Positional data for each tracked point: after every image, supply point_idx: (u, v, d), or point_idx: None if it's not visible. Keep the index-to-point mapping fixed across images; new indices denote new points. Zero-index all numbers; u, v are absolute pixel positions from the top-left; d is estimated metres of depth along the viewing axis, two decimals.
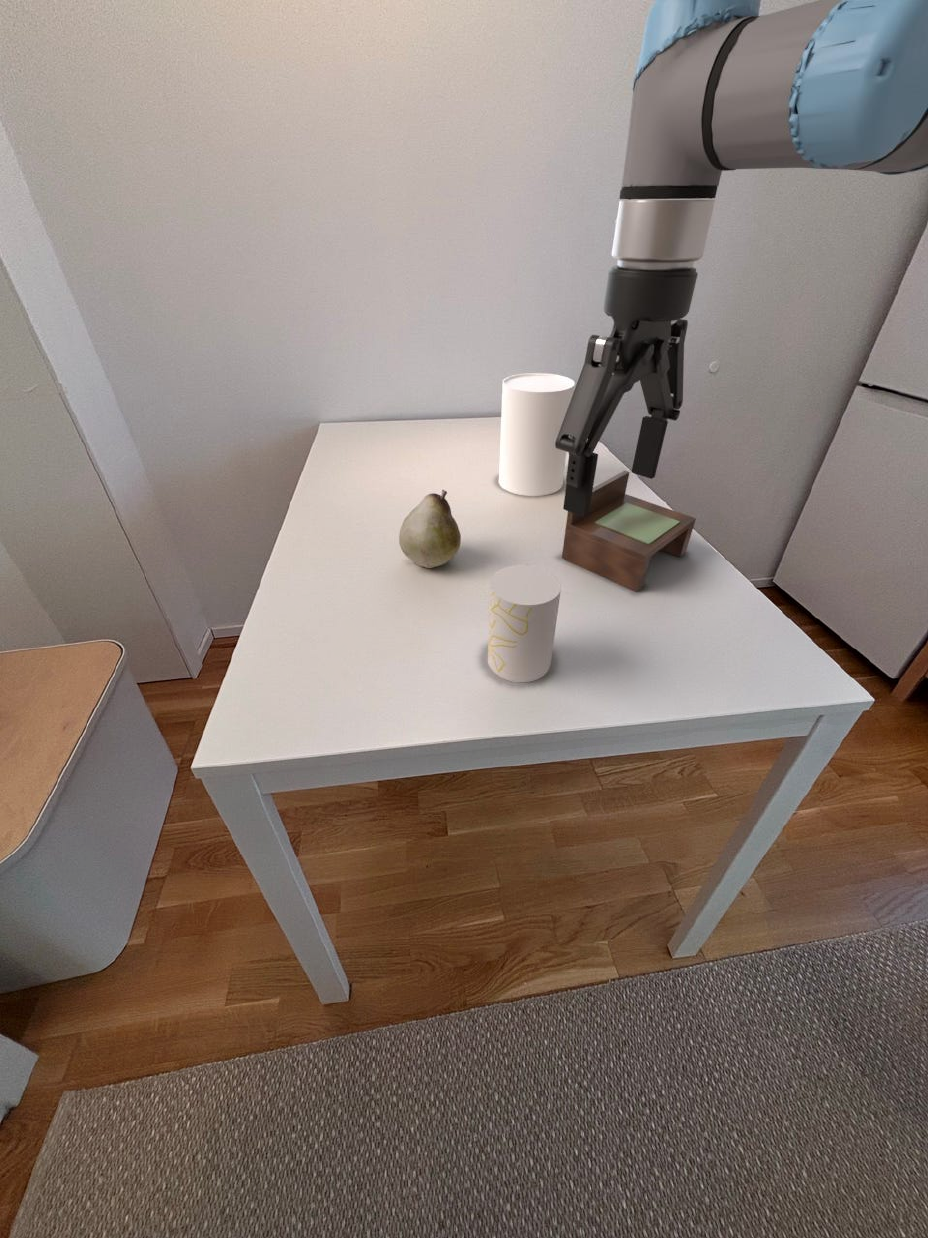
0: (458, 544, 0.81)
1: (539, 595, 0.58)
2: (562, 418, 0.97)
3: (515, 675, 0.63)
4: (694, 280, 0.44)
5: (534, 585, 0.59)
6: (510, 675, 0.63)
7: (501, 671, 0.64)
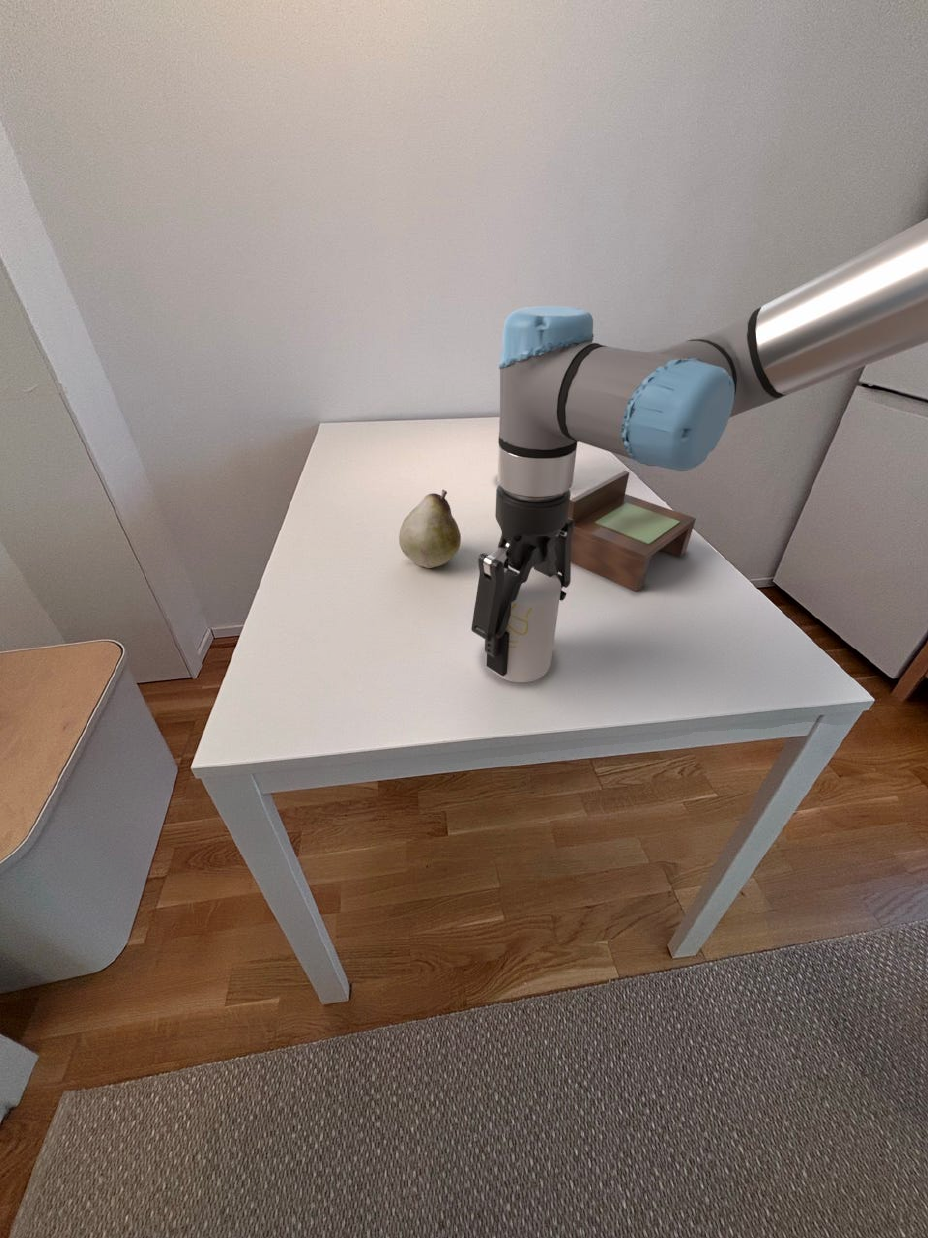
0: (458, 544, 0.81)
1: (539, 595, 0.58)
2: None
3: (515, 675, 0.63)
4: (566, 504, 0.51)
5: (534, 585, 0.59)
6: (510, 675, 0.63)
7: None
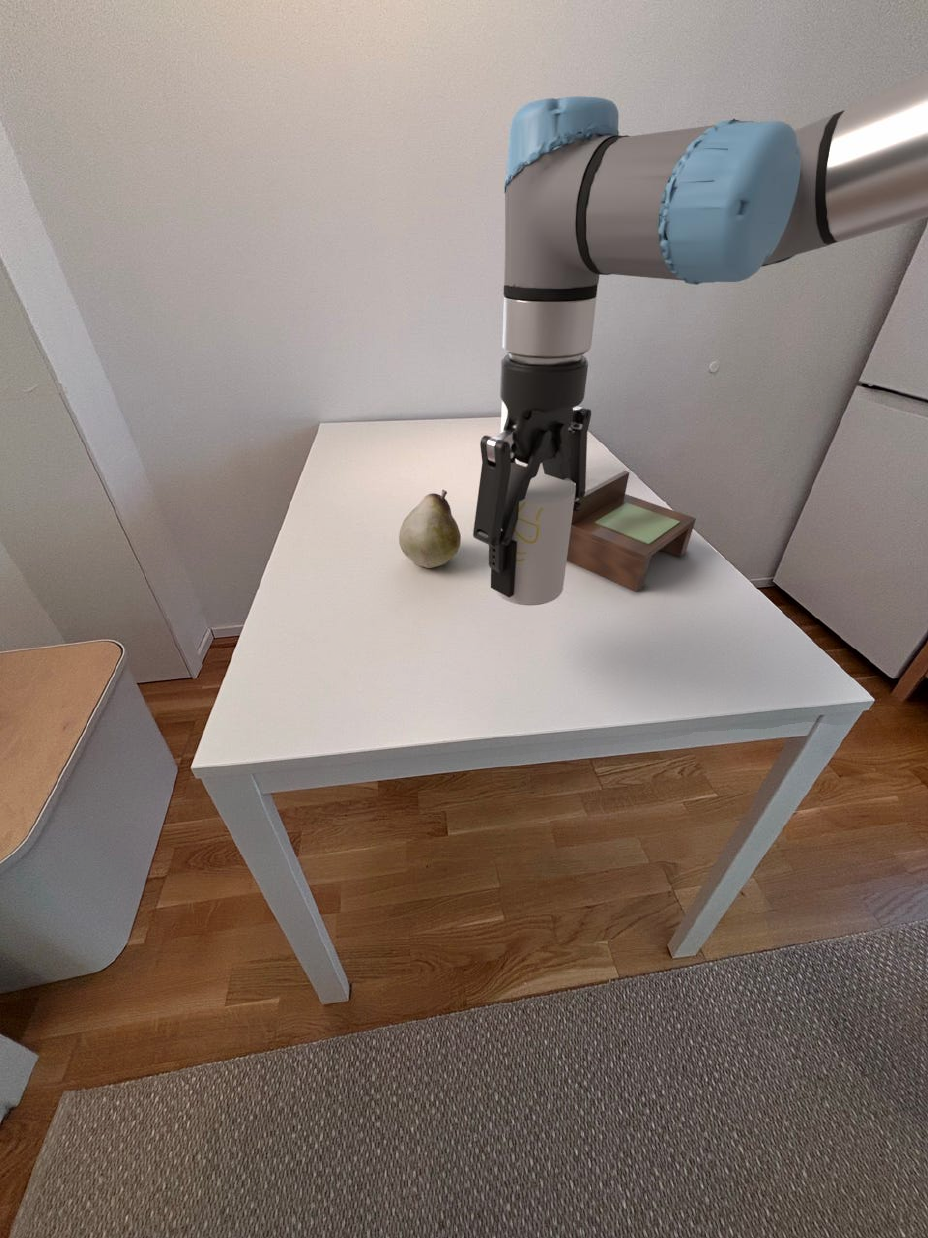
0: (458, 544, 0.81)
1: (550, 495, 0.50)
2: None
3: (523, 596, 0.56)
4: (583, 372, 0.43)
5: (545, 487, 0.52)
6: (517, 597, 0.56)
7: None
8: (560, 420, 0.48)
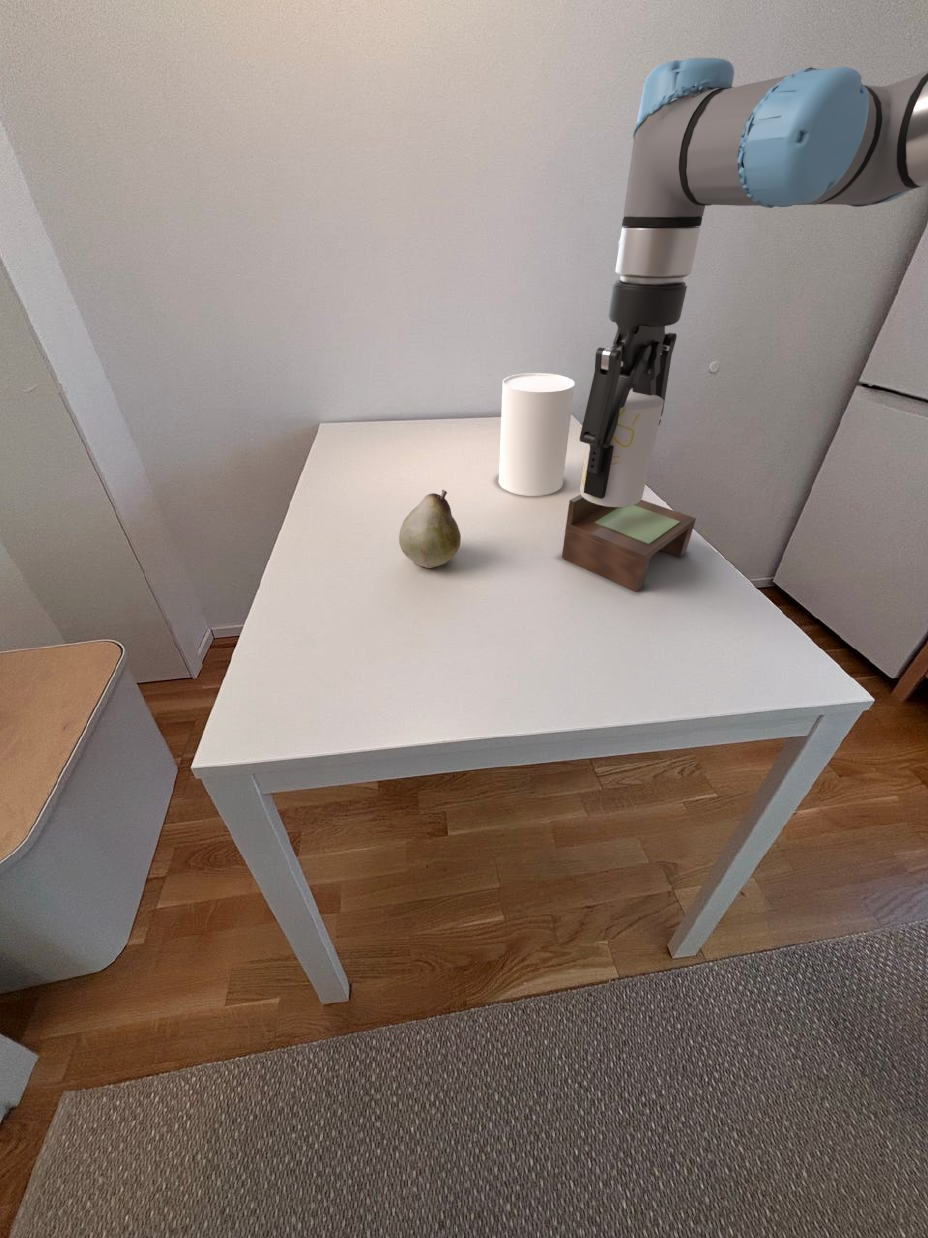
0: (458, 544, 0.81)
1: (644, 404, 0.60)
2: (562, 418, 0.97)
3: (612, 498, 0.65)
4: (684, 292, 0.53)
5: (637, 399, 0.61)
6: (607, 499, 0.65)
7: None
8: (655, 339, 0.58)
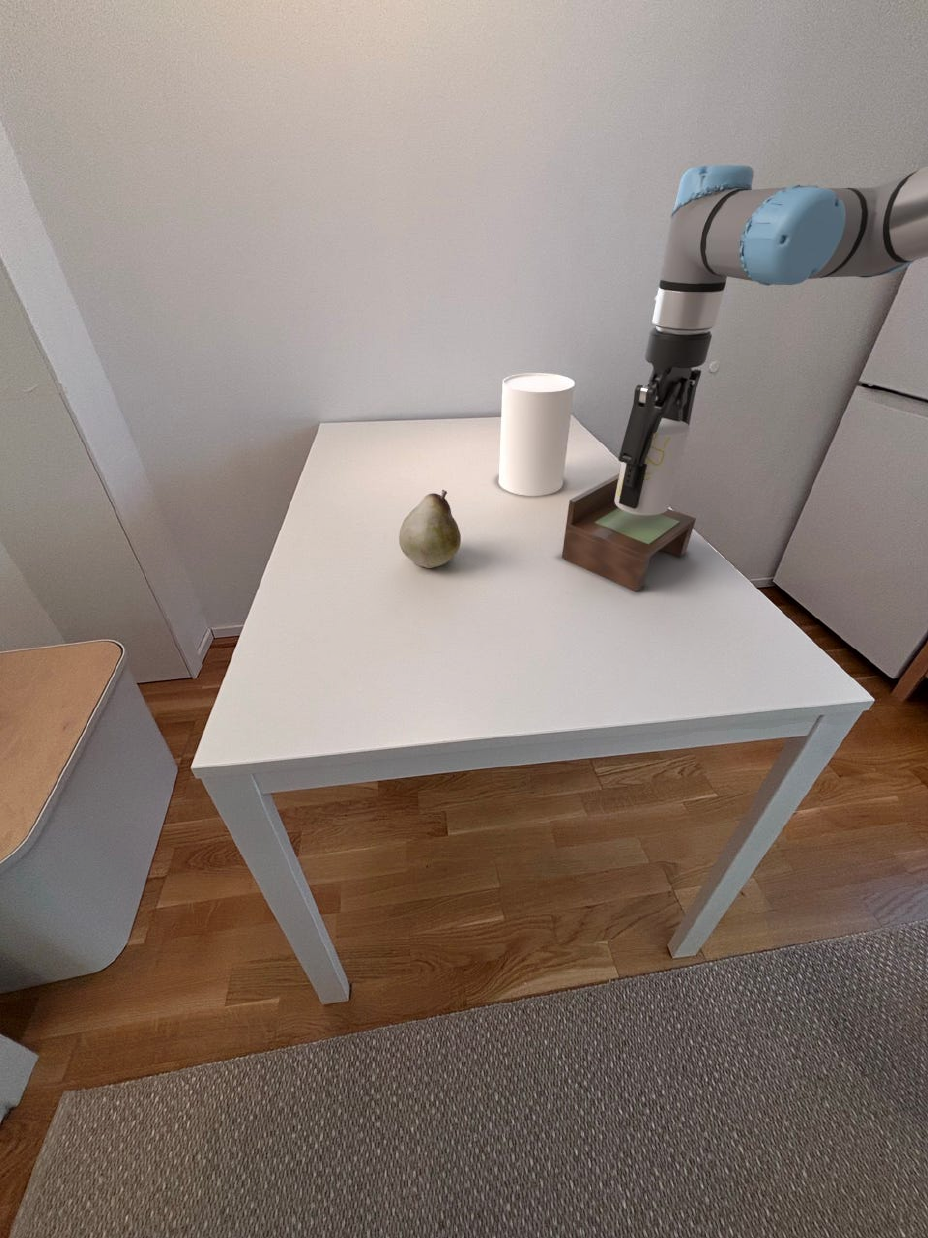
0: (458, 544, 0.81)
1: (673, 430, 0.71)
2: (562, 418, 0.97)
3: (644, 508, 0.76)
4: (709, 340, 0.64)
5: (667, 425, 0.72)
6: (639, 508, 0.77)
7: None
8: (684, 376, 0.69)
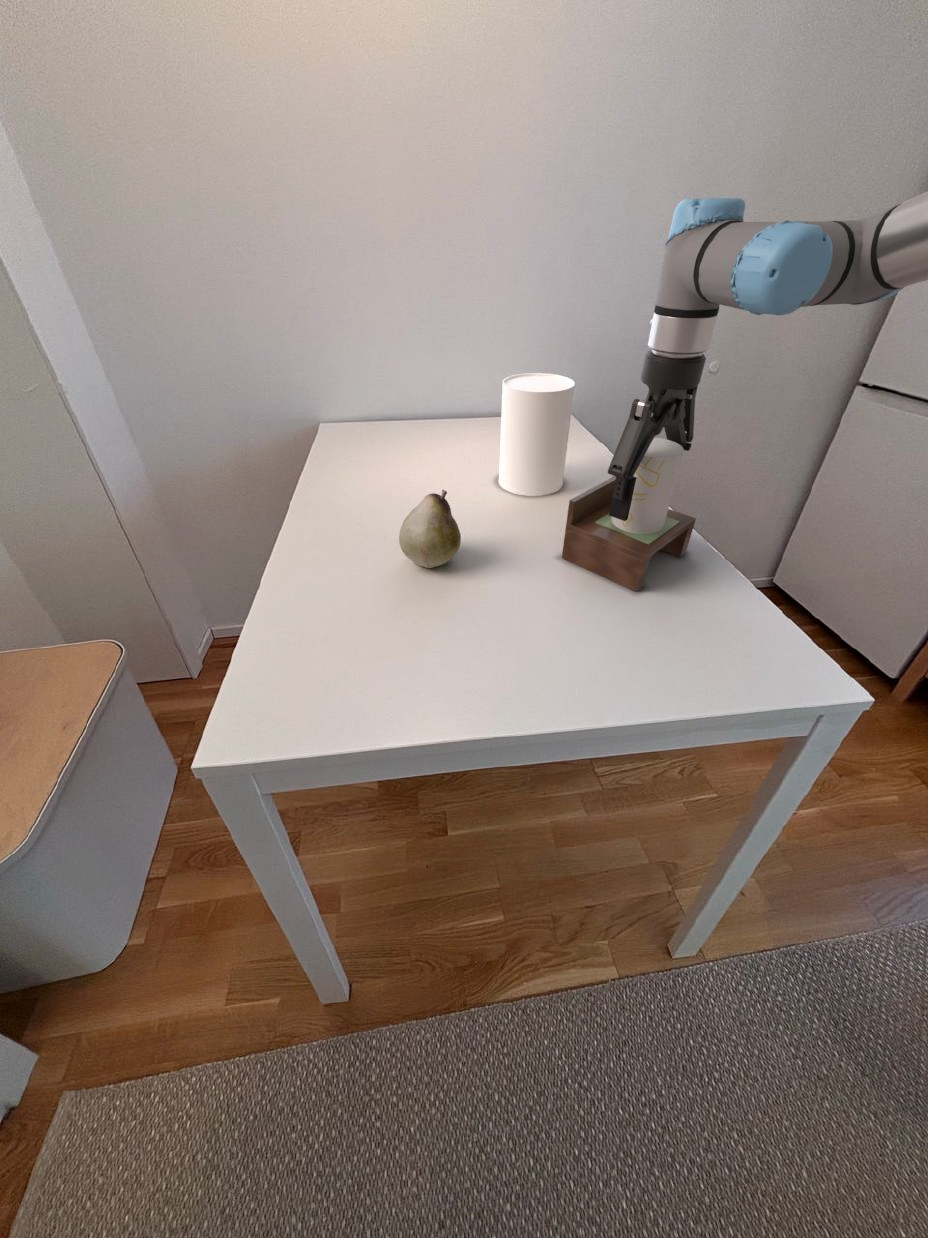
0: (458, 544, 0.81)
1: (668, 452, 0.73)
2: (562, 418, 0.97)
3: (640, 527, 0.78)
4: (703, 363, 0.66)
5: (662, 447, 0.74)
6: (635, 527, 0.79)
7: (627, 525, 0.79)
8: None
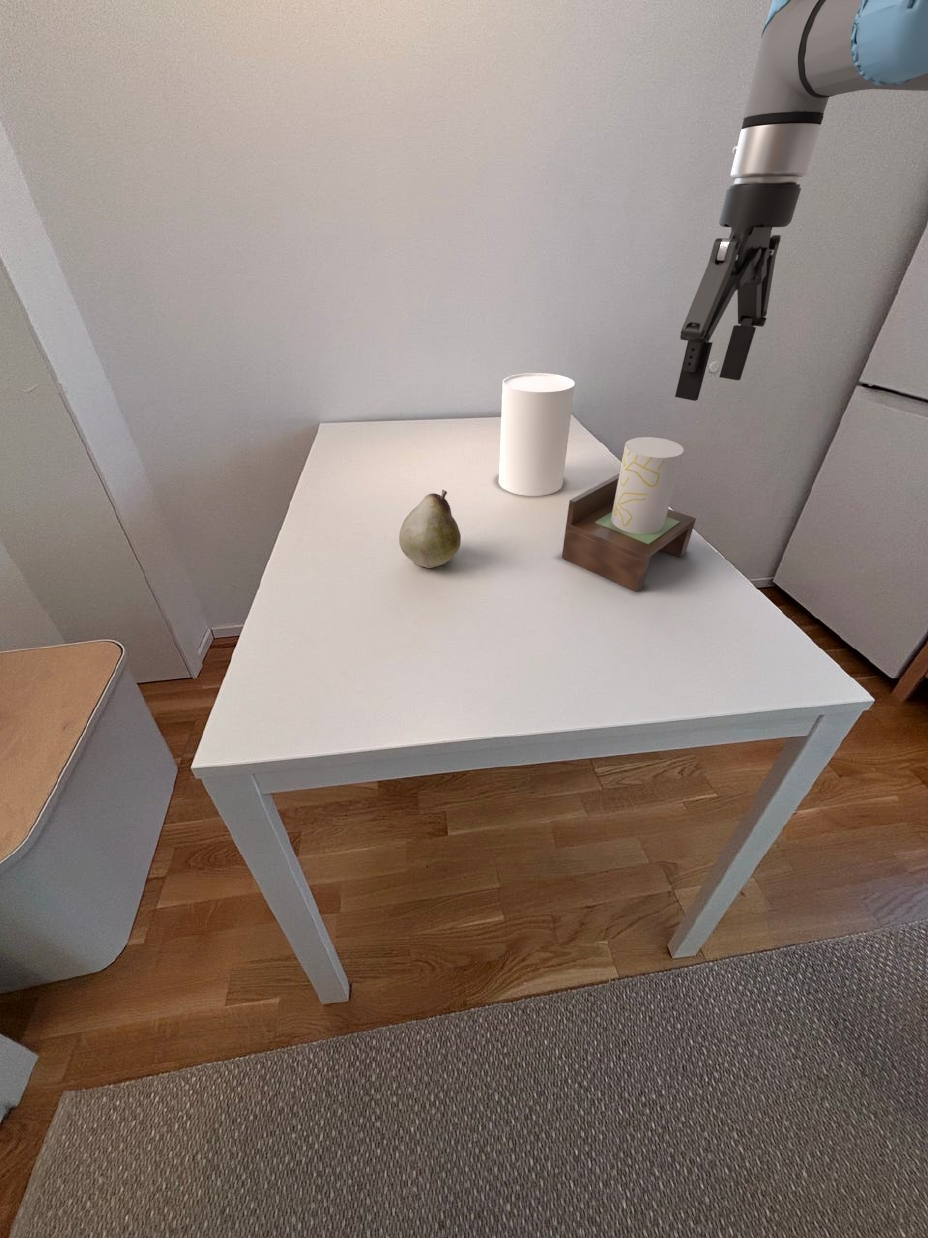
0: (458, 544, 0.81)
1: (668, 452, 0.73)
2: (562, 418, 0.97)
3: (640, 527, 0.78)
4: (799, 193, 0.55)
5: (662, 447, 0.74)
6: (635, 527, 0.79)
7: (627, 525, 0.79)
8: None
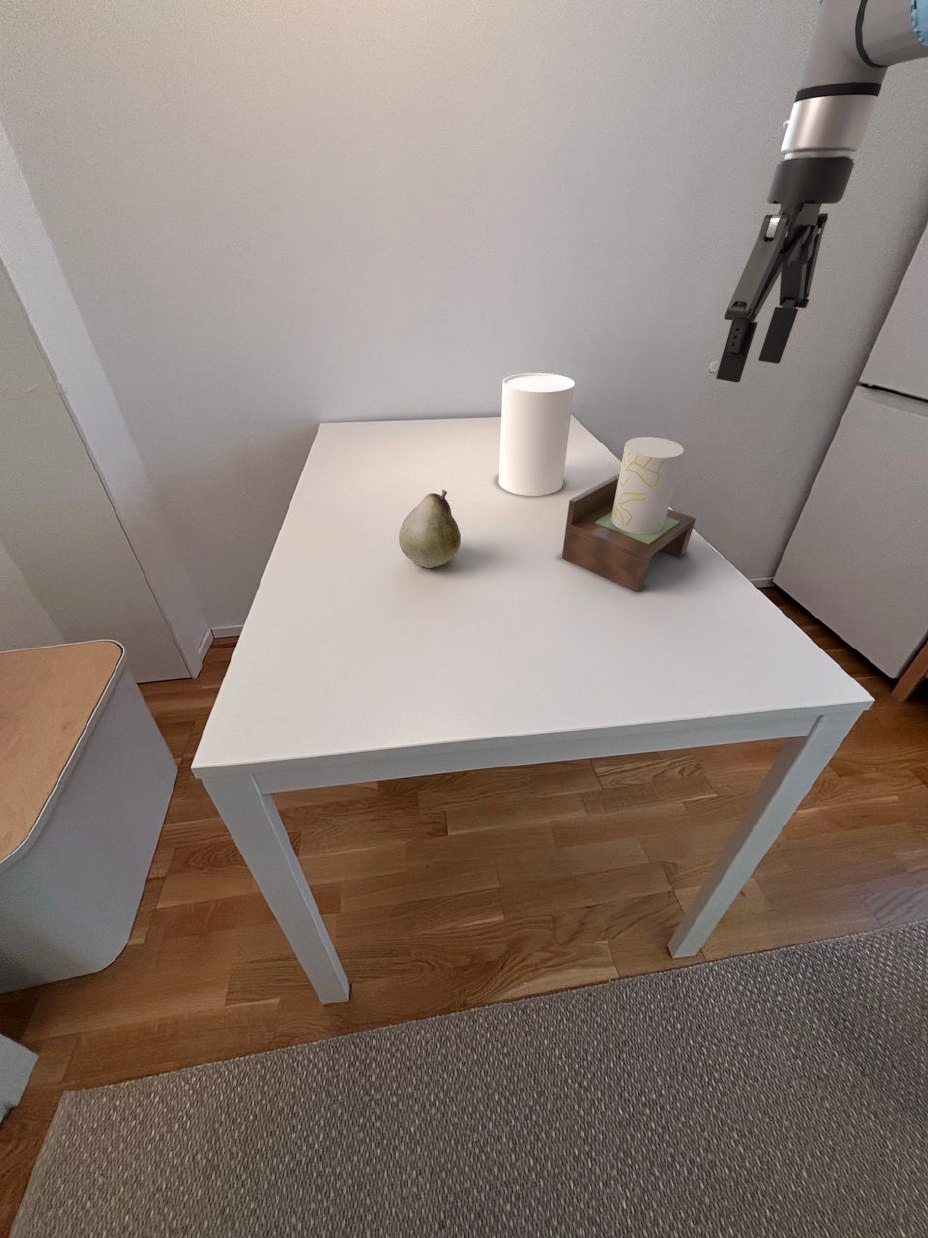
0: (458, 544, 0.81)
1: (668, 452, 0.73)
2: (562, 418, 0.97)
3: (640, 527, 0.78)
4: (852, 168, 0.54)
5: (662, 447, 0.74)
6: (635, 527, 0.79)
7: (627, 525, 0.79)
8: None
